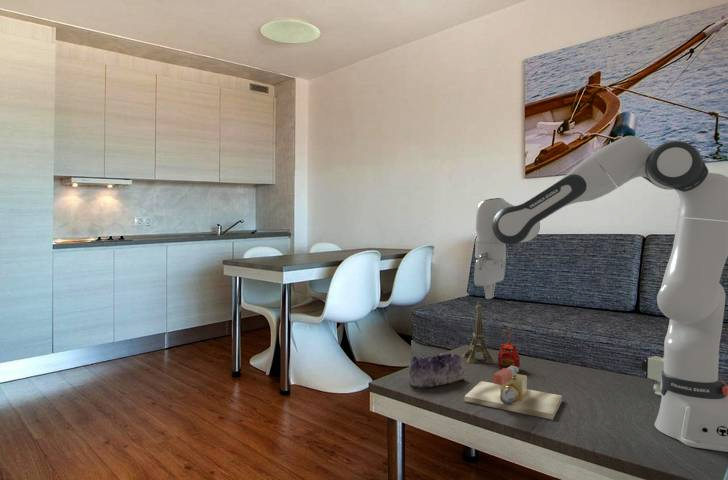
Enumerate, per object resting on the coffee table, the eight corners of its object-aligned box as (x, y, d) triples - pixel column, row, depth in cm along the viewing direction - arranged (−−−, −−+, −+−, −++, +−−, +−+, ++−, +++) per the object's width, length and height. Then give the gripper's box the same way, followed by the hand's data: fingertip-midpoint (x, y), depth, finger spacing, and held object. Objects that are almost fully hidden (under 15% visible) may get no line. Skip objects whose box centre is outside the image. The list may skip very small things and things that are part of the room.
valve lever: (511, 373, 137) (511, 363, 137) (519, 375, 135) (520, 364, 135) (493, 385, 126) (493, 373, 126) (502, 387, 125) (502, 375, 125)
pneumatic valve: (682, 403, 135) (683, 362, 134) (640, 391, 145) (641, 352, 144) (691, 399, 138) (692, 359, 137) (649, 388, 148) (650, 350, 147)
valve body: (530, 391, 140) (530, 371, 140) (517, 408, 127) (518, 386, 126) (509, 387, 143) (510, 368, 143) (495, 404, 130) (495, 382, 130)
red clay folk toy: (497, 370, 164) (497, 328, 164) (497, 365, 171) (498, 324, 170) (519, 373, 162) (520, 330, 161) (519, 367, 168) (520, 326, 168)
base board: (561, 400, 136) (562, 395, 136) (552, 419, 122) (552, 413, 122) (481, 385, 148) (481, 381, 148) (464, 401, 134) (464, 396, 134)
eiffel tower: (495, 363, 173) (497, 297, 172) (467, 363, 173) (468, 296, 172) (487, 356, 183) (489, 293, 183) (461, 355, 183) (462, 292, 183)
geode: (427, 394, 140) (423, 360, 141) (402, 388, 150) (398, 357, 150) (471, 379, 153) (467, 348, 153) (445, 374, 162) (442, 345, 163)
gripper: (491, 254, 129) (490, 303, 130) (509, 251, 147) (508, 295, 147) (469, 253, 133) (468, 301, 133) (489, 250, 150) (488, 293, 150)
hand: (489, 298), depth 140 cm, fingers closed
